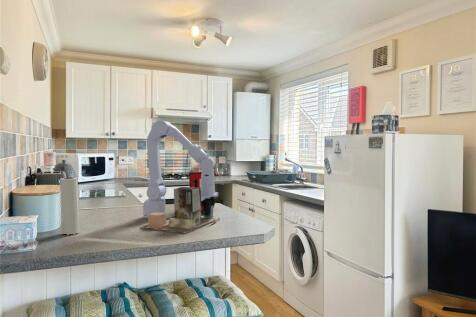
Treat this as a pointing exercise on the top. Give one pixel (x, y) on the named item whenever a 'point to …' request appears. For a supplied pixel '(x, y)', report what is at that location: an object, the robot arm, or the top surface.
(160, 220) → the terracotta cube
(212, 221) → the lane frame
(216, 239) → the top surface
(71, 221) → the tall grey block
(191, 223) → the frame
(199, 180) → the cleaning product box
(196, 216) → the coffee box
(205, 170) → the robot arm
